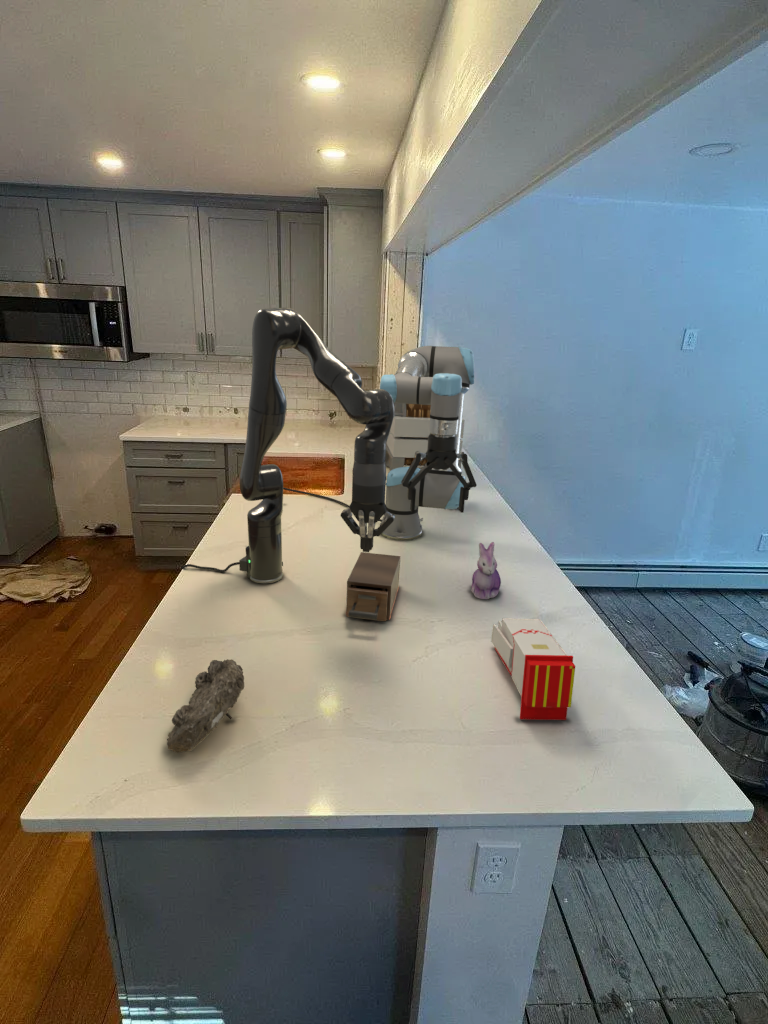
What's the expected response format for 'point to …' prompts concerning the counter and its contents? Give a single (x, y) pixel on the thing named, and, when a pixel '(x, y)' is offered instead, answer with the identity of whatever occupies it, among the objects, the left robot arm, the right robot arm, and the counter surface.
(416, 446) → the white slatted crate
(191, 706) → the fossil
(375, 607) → the drawer
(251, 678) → the counter surface
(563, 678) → the toy
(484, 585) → the figurine
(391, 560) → the cabinet
